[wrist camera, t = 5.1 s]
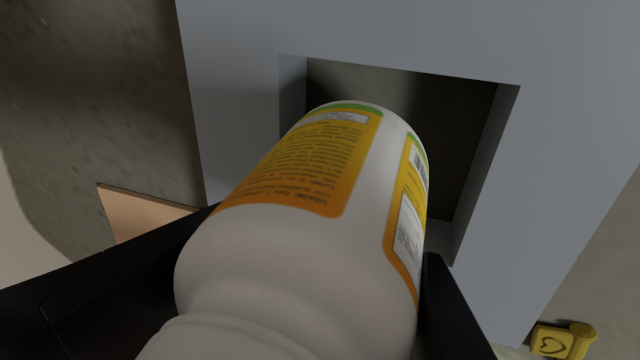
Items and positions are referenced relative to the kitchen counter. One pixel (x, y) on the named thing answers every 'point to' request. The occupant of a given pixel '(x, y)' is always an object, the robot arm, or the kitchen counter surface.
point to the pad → (137, 212)
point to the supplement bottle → (310, 249)
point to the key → (562, 341)
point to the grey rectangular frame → (498, 134)
